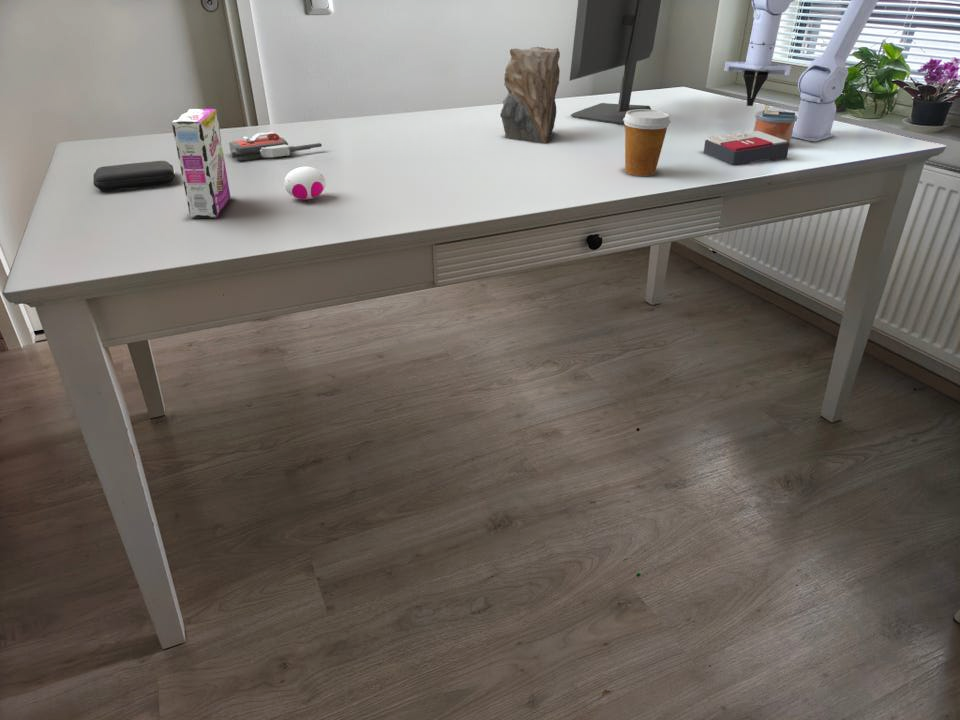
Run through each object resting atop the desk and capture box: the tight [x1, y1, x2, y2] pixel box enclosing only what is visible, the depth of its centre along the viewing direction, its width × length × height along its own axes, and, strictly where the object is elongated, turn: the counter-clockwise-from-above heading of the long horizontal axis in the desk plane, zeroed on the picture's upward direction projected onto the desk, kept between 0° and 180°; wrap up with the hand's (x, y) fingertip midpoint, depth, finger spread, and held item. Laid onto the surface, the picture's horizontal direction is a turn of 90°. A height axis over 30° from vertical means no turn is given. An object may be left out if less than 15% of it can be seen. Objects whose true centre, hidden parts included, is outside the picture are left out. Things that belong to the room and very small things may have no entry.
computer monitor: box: [569, 0, 662, 126], centre depth 185 cm, size 44×16×40 cm, turn 144°
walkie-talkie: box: [228, 131, 322, 162], centre depth 157 cm, size 9×4×20 cm
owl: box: [499, 46, 561, 144], centre depth 170 cm, size 13×13×20 cm
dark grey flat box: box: [703, 130, 791, 166], centre depth 160 cm, size 11×4×15 cm
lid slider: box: [764, 104, 779, 114], centre depth 167 cm, size 3×3×2 cm
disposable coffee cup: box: [623, 109, 671, 177], centre depth 146 cm, size 10×10×12 cm
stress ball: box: [283, 166, 327, 203], centre depth 131 cm, size 8×8×7 cm
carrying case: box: [93, 160, 177, 192], centre depth 139 cm, size 11×3×15 cm
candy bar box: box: [171, 108, 231, 219], centre depth 123 cm, size 11×5×16 cm, turn 5°
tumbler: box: [753, 109, 797, 146], centre depth 169 cm, size 9×9×7 cm
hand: (749, 105), depth 168 cm, fingers closed
